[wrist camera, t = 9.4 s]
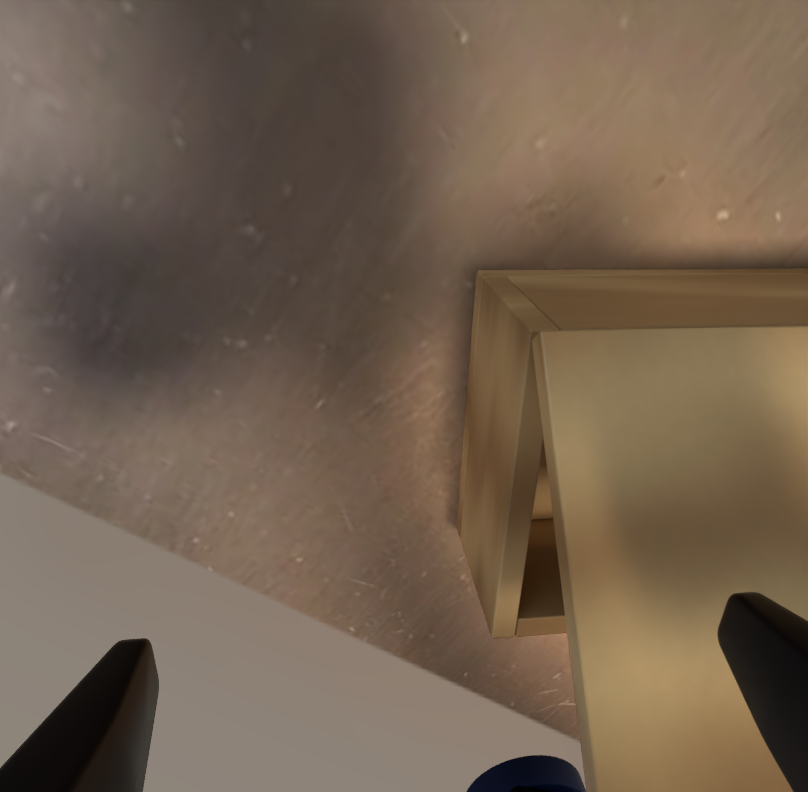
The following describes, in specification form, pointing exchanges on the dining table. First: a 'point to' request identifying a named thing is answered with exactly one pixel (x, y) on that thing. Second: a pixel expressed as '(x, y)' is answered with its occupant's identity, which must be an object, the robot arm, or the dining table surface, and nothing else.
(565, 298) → the storage box
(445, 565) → the dining table surface
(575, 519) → the box door
